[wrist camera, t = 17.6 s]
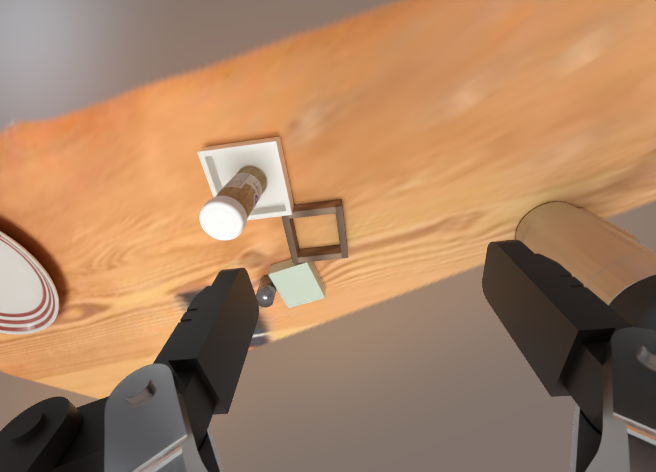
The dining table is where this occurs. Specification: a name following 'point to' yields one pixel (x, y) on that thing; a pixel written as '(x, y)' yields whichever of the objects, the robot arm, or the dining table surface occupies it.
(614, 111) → the dining table surface
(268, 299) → the cylinder
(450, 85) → the dining table surface
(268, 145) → the tray
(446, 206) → the dining table surface
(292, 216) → the socket block
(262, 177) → the sprinkles bottle
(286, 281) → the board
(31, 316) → the dinner plate
